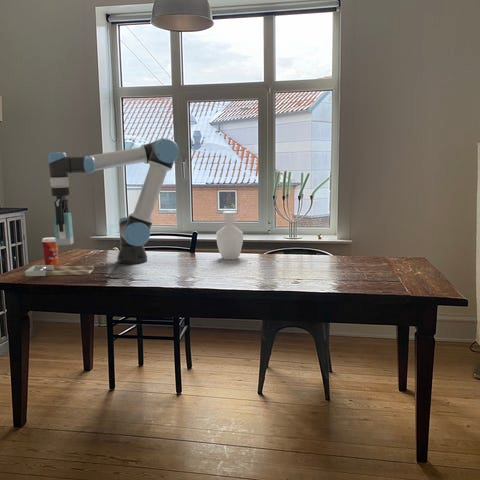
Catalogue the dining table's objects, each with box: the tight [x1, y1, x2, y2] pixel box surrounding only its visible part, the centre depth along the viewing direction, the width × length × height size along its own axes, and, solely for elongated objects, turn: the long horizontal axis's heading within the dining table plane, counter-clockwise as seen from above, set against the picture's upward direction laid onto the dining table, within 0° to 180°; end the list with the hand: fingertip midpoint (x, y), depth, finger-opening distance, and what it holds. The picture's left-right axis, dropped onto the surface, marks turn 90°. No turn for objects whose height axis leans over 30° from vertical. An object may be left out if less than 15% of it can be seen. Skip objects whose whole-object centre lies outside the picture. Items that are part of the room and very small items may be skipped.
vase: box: [215, 210, 244, 260], centre depth 240 cm, size 14×14×25 cm
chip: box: [36, 265, 47, 273], centre depth 205 cm, size 4×4×2 cm
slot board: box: [46, 265, 95, 276], centre depth 205 cm, size 18×11×2 cm, turn 96°
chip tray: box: [24, 264, 54, 277], centre depth 203 cm, size 8×12×3 cm
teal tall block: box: [52, 212, 75, 246], centre depth 206 cm, size 6×6×14 cm
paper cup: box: [41, 236, 59, 267], centre depth 220 cm, size 8×8×14 cm
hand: (64, 237), depth 206 cm, fingers closed on teal tall block, 6 cm apart
